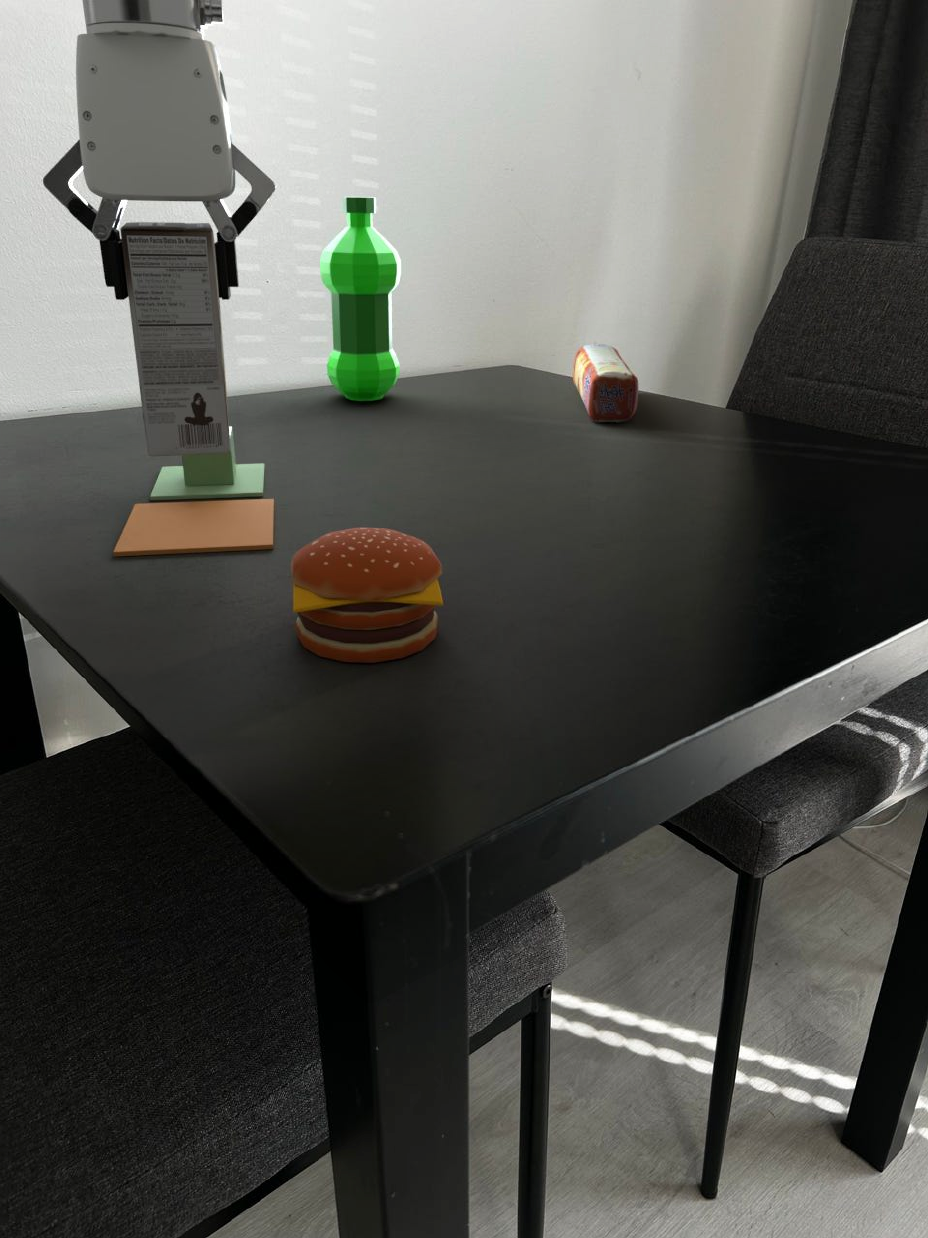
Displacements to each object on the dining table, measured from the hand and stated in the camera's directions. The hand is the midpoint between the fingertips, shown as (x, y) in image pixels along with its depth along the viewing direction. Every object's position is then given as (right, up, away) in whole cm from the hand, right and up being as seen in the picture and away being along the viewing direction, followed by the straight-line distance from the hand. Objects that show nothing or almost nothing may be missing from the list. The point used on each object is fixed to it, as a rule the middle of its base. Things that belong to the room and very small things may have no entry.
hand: (174, 295), depth 68 cm
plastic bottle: (+8, +6, +57) cm, 58 cm away
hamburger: (+15, -25, -10) cm, 31 cm away
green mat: (-3, -11, +19) cm, 23 cm away
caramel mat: (0, -17, +8) cm, 18 cm away
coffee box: (0, -10, +5) cm, 11 cm away
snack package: (+40, +4, +54) cm, 68 cm away
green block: (-3, -11, +19) cm, 22 cm away
